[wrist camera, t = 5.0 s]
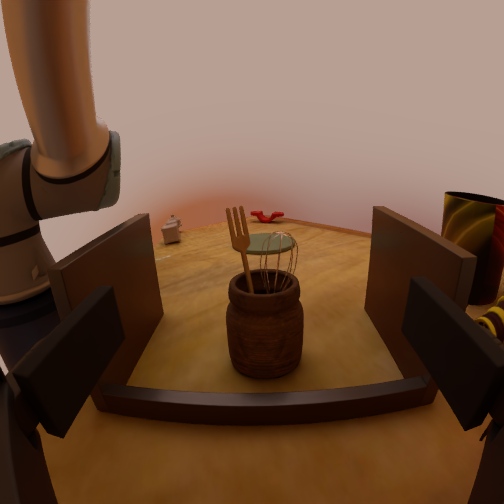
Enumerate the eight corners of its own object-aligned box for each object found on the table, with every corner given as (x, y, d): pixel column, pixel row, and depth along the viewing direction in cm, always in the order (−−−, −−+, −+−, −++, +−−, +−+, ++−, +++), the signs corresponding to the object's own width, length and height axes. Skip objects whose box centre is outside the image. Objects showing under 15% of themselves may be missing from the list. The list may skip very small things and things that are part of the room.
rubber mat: (220, 244, 56) (220, 241, 56) (266, 233, 62) (266, 230, 62) (259, 259, 47) (259, 255, 47) (307, 244, 54) (307, 241, 54)
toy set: (159, 227, 56) (164, 245, 57) (176, 223, 57) (181, 242, 58) (165, 215, 67) (169, 230, 69) (180, 212, 68) (183, 227, 69)
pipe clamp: (281, 214, 69) (281, 223, 70) (284, 212, 71) (285, 221, 72) (248, 212, 72) (249, 221, 72) (252, 210, 74) (253, 219, 75)
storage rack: (432, 403, 17) (477, 256, 13) (97, 410, 18) (45, 269, 14) (374, 307, 31) (383, 206, 28) (153, 313, 32) (138, 214, 28)
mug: (471, 265, 40) (481, 191, 36) (507, 305, 27) (526, 209, 23) (420, 263, 42) (427, 185, 38) (445, 304, 30) (461, 200, 26)
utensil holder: (261, 392, 20) (256, 227, 16) (214, 353, 25) (199, 213, 21) (316, 358, 24) (325, 212, 20) (266, 329, 28) (263, 201, 25)
